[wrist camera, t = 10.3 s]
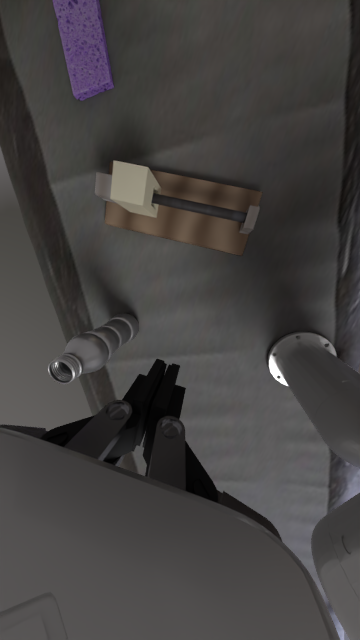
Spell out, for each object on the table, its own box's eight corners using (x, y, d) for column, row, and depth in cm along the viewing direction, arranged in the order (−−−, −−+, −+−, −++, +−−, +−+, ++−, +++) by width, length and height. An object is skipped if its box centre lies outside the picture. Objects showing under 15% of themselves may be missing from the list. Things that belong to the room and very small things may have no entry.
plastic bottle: (144, 335, 42) (90, 392, 23) (118, 338, 43) (47, 394, 25) (138, 309, 40) (74, 347, 21) (111, 313, 42) (29, 351, 23)
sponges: (97, -17, 27) (89, -37, 25) (116, 91, 30) (110, 81, 29) (58, 3, 28) (47, -15, 27) (80, 104, 32) (72, 95, 30)
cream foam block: (161, 188, 30) (148, 167, 24) (156, 217, 32) (142, 205, 25) (133, 182, 31) (113, 160, 24) (130, 212, 32) (110, 198, 26)
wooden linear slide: (260, 195, 31) (272, 177, 25) (241, 255, 34) (247, 253, 28) (114, 166, 33) (92, 143, 27) (108, 225, 36) (88, 216, 30)
